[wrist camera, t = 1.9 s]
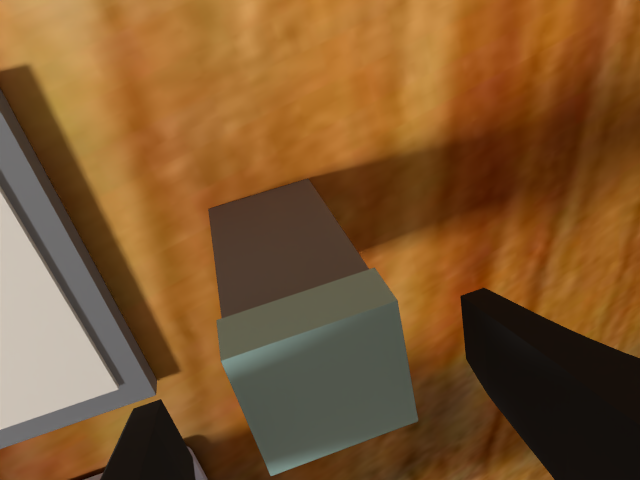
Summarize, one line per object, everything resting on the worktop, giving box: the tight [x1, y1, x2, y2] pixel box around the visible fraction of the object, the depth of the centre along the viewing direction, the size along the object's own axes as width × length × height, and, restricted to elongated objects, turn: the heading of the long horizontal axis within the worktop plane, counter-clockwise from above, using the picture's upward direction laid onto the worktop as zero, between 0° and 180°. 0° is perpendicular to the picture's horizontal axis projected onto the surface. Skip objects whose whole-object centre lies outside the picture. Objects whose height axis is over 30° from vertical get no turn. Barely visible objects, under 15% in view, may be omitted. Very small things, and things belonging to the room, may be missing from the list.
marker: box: [208, 179, 418, 476], centre depth 14 cm, size 4×4×8 cm
